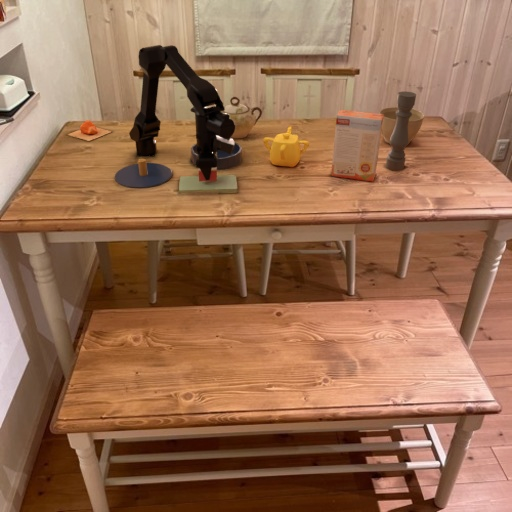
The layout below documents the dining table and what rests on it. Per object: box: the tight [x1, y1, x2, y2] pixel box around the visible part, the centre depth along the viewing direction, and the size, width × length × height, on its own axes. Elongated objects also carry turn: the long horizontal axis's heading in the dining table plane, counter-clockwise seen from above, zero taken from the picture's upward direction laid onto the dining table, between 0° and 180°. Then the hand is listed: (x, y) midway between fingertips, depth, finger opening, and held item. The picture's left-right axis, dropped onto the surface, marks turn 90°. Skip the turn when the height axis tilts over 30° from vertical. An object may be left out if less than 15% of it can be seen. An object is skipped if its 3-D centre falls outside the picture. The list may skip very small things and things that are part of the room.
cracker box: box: [330, 109, 384, 183], centre depth 166 cm, size 14×6×21 cm, turn 71°
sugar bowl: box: [221, 96, 263, 139], centre depth 197 cm, size 20×15×15 cm
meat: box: [197, 167, 218, 181], centre depth 162 cm, size 6×4×4 cm
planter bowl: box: [378, 106, 425, 145], centre depth 194 cm, size 16×16×11 cm
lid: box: [114, 158, 173, 189], centre depth 168 cm, size 18×18×6 cm
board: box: [178, 174, 238, 194], centre depth 164 cm, size 18×10×2 cm, turn 94°
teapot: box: [262, 125, 310, 168], centre depth 178 cm, size 14×13×10 cm
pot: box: [190, 141, 243, 171], centre depth 180 cm, size 17×17×4 cm
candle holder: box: [385, 91, 417, 172], centre depth 171 cm, size 6×6×25 cm
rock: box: [66, 120, 112, 142], centre depth 200 cm, size 12×12×4 cm
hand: (207, 177), depth 163 cm, fingers closed on meat, 4 cm apart
